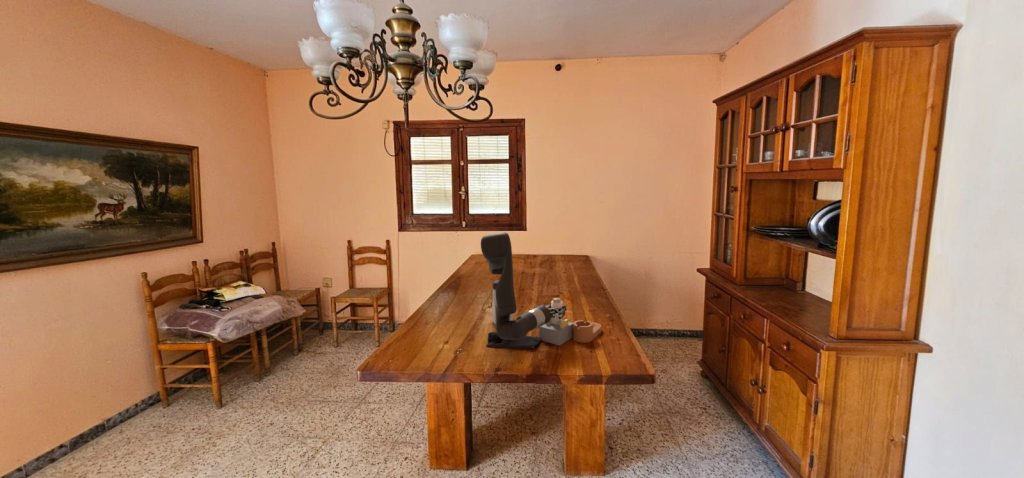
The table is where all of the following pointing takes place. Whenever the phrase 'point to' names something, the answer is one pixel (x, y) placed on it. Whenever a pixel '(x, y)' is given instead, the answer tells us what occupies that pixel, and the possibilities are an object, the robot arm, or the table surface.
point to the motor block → (556, 332)
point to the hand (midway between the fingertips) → (560, 306)
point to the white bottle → (558, 304)
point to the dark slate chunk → (512, 341)
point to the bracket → (585, 330)
